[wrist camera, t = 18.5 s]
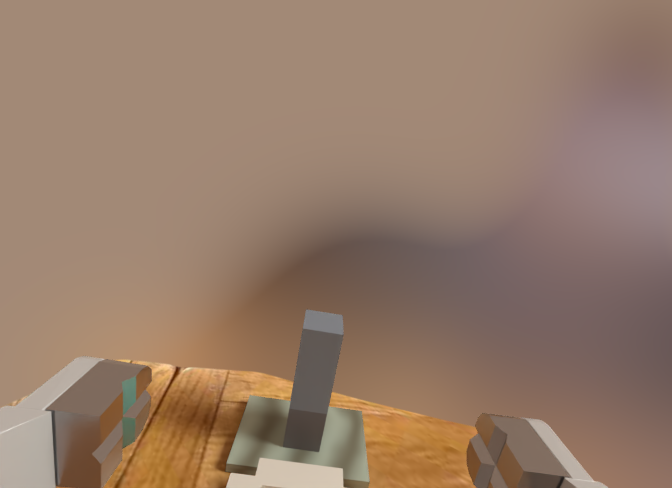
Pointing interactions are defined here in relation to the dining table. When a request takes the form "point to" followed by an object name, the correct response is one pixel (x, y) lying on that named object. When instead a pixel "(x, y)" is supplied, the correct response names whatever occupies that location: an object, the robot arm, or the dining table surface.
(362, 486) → the sage board
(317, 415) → the slate box
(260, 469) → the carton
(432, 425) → the dining table surface
